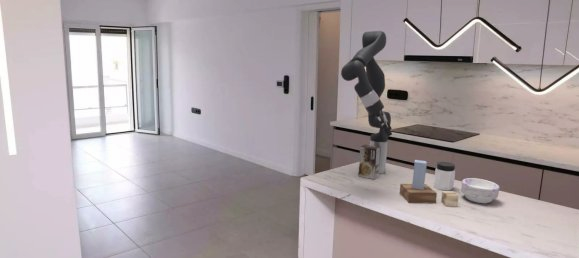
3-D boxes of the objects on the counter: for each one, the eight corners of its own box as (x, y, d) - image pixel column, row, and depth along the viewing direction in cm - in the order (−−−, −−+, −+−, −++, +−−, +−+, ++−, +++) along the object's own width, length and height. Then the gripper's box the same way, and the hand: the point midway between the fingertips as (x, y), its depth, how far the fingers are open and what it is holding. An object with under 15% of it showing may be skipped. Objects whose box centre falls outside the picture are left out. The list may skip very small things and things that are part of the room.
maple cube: (441, 202, 176) (442, 191, 175) (452, 202, 176) (453, 191, 175) (445, 206, 171) (447, 195, 170) (457, 206, 171) (458, 195, 170)
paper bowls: (501, 207, 171) (504, 190, 170) (464, 204, 174) (466, 186, 173) (491, 195, 186) (493, 179, 184) (457, 192, 189) (458, 176, 187)
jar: (447, 191, 189) (450, 167, 187) (431, 187, 195) (433, 163, 193) (455, 188, 195) (458, 164, 193) (439, 183, 201) (442, 160, 199)
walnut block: (399, 194, 185) (400, 183, 184) (425, 194, 186) (426, 184, 185) (408, 203, 173) (409, 192, 172) (435, 204, 174) (436, 193, 173)
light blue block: (412, 185, 182) (415, 159, 180) (423, 187, 180) (426, 161, 178) (411, 188, 177) (414, 162, 175) (423, 190, 176) (426, 163, 174)
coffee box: (379, 176, 209) (381, 146, 207) (374, 179, 204) (377, 148, 201) (362, 173, 214) (364, 144, 211) (357, 176, 209) (360, 146, 206)
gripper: (364, 103, 187) (382, 132, 189) (363, 110, 173) (382, 141, 175) (379, 94, 184) (396, 124, 186) (379, 101, 171) (398, 133, 173)
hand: (390, 132), depth 181 cm, fingers open, 8 cm apart
